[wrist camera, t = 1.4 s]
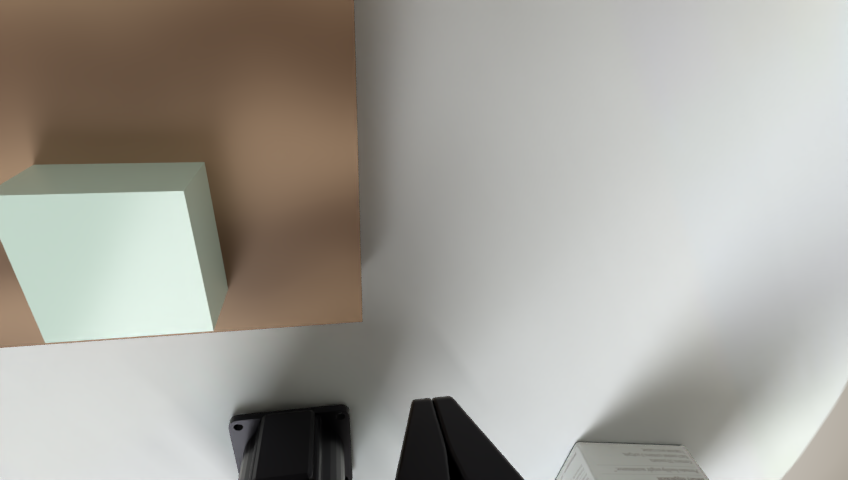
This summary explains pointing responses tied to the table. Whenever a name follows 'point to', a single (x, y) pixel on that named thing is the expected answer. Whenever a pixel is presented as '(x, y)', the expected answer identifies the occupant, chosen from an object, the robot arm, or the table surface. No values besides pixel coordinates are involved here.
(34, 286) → the tile
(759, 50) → the table surface
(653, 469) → the supplement box
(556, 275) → the table surface
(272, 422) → the robot arm
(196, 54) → the tan bevelled block
